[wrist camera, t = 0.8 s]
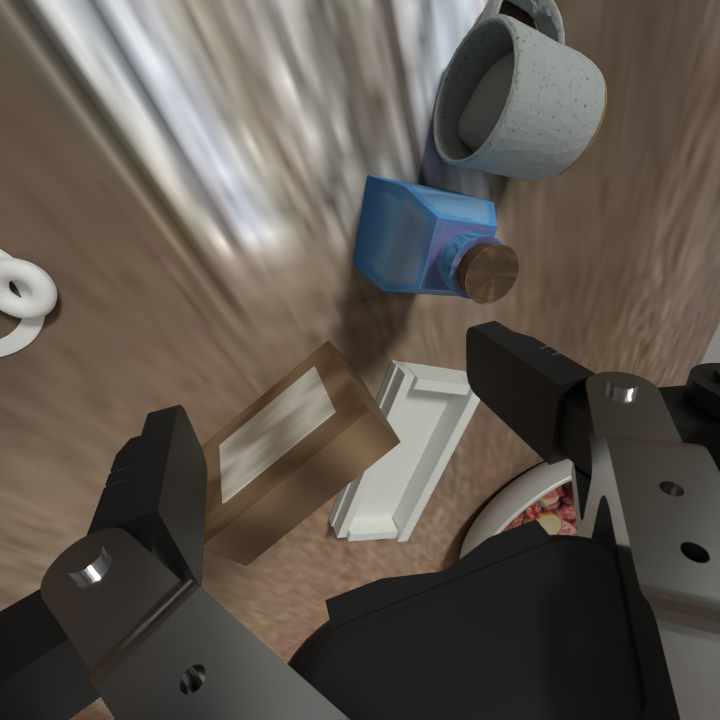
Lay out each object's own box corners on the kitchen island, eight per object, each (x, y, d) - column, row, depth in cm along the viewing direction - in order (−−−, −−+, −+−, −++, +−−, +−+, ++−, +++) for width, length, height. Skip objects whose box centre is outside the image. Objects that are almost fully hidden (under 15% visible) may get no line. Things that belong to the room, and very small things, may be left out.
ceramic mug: (513, 179, 31) (592, 190, 25) (421, 162, 28) (485, 169, 22) (565, 7, 27) (678, -33, 20) (462, -35, 24) (557, -98, 17)
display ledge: (329, 518, 44) (337, 546, 41) (391, 360, 36) (408, 380, 33) (394, 515, 47) (407, 540, 44) (464, 371, 39) (484, 390, 37)
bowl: (586, 551, 71) (624, 593, 65) (436, 606, 63) (463, 661, 56) (650, 418, 56) (708, 456, 50) (464, 466, 47) (505, 519, 41)
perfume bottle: (444, 189, 30) (562, 219, 20) (423, 270, 33) (519, 332, 23) (367, 175, 28) (458, 202, 18) (352, 263, 30) (424, 329, 20)
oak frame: (237, 467, 36) (247, 566, 28) (200, 444, 34) (200, 545, 26) (356, 369, 35) (402, 443, 27) (326, 338, 33) (367, 409, 25)
